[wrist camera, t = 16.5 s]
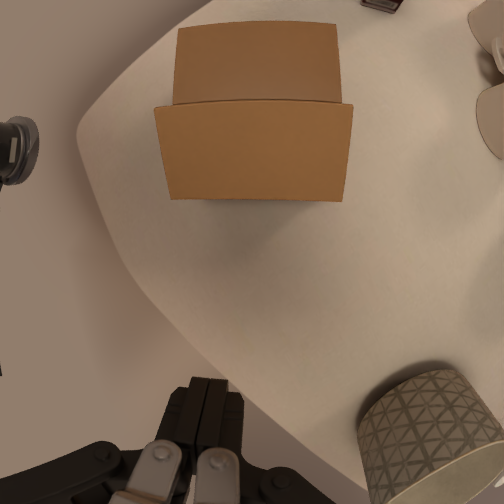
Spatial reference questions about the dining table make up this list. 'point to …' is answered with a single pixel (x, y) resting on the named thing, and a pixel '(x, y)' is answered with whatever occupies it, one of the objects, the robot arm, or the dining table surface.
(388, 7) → the supplement box
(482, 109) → the bracket
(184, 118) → the flap
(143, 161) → the dining table surface
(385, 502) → the planter
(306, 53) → the carton
